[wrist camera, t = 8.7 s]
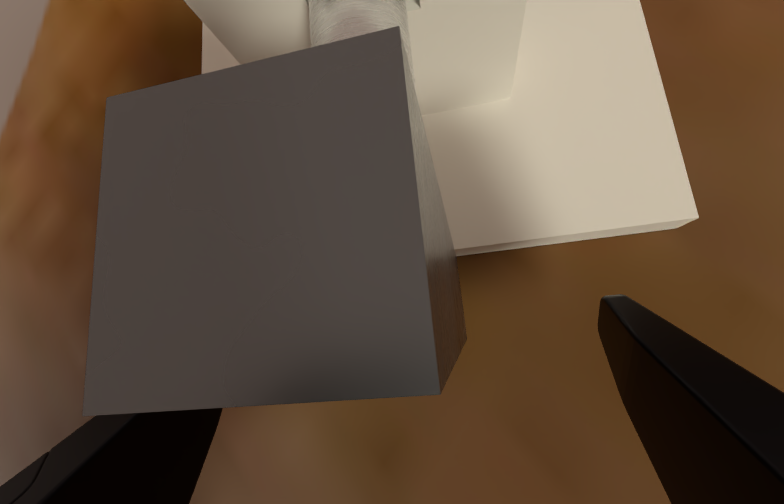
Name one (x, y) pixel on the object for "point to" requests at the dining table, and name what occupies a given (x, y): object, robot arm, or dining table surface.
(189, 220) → the grey block
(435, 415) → the dining table surface
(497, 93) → the white mounting stand
